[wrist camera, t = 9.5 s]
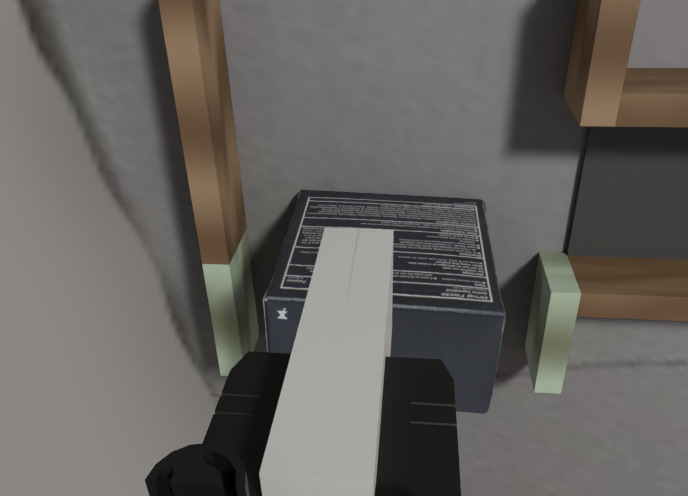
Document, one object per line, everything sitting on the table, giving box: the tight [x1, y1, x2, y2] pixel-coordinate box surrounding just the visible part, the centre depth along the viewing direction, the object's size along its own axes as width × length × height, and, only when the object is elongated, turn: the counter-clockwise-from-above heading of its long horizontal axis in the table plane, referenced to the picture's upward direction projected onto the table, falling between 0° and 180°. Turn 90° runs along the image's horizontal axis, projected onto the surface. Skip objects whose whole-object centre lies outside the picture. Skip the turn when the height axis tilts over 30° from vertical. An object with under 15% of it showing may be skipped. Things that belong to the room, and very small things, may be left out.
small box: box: [262, 190, 506, 414], centre depth 33 cm, size 11×6×10 cm, turn 90°
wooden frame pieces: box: [158, 0, 688, 394], centre depth 32 cm, size 23×34×4 cm
